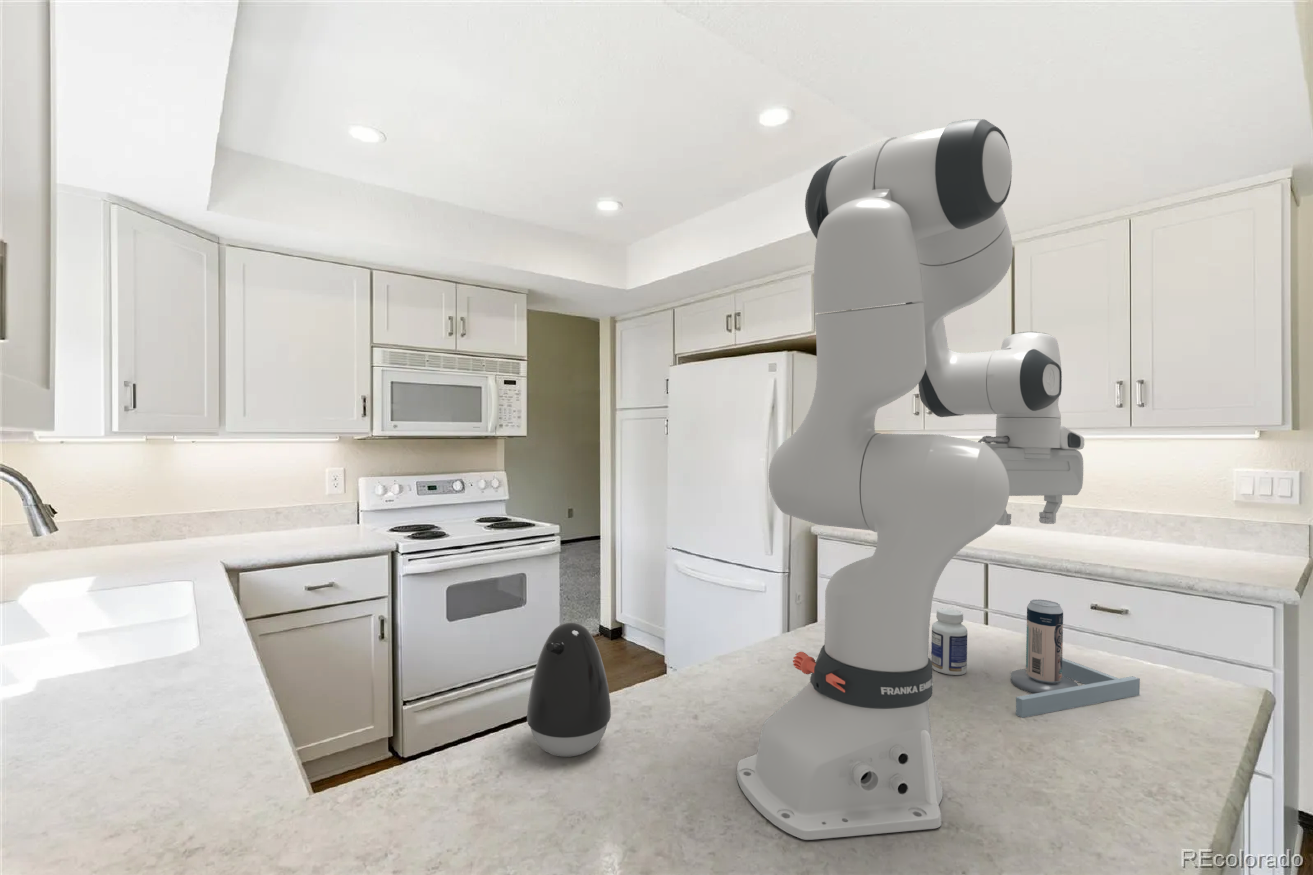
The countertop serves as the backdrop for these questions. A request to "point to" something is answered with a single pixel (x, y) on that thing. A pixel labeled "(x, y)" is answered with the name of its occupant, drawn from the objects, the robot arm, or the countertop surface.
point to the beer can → (1044, 641)
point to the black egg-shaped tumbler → (569, 693)
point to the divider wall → (1078, 691)
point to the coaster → (1037, 683)
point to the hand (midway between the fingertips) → (1025, 524)
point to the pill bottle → (949, 643)
